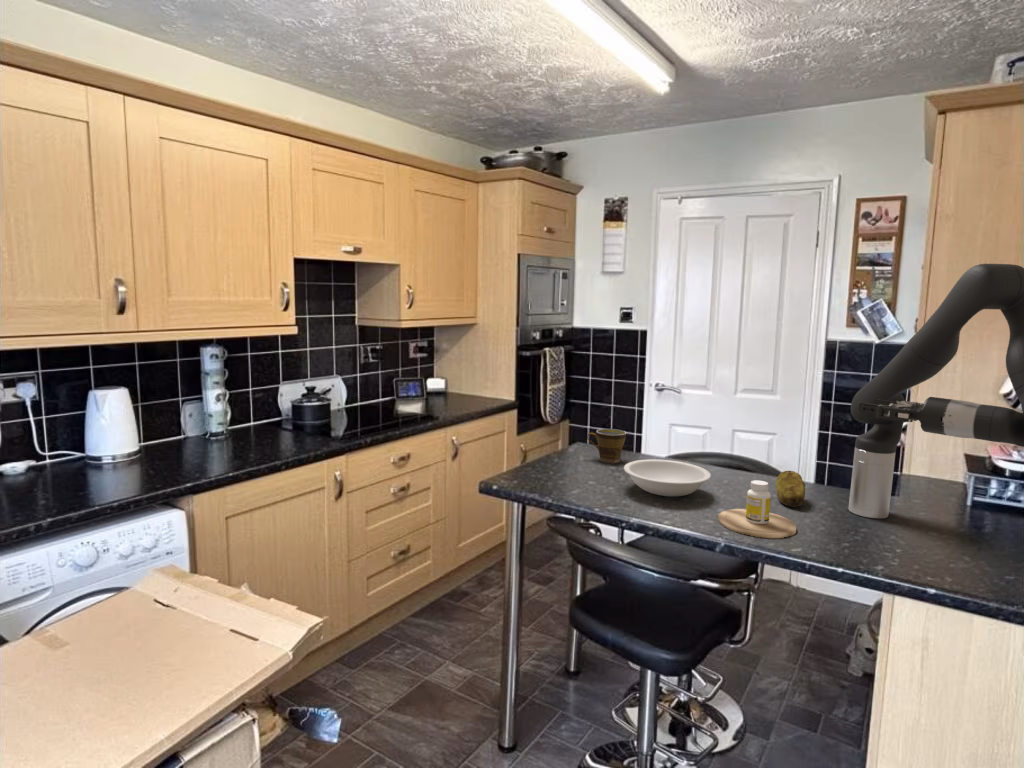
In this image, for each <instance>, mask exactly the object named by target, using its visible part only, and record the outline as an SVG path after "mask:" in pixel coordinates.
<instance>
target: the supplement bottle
mask: <svg viewBox="0 0 1024 768" xmlns="http://www.w3.org/2000/svg"><path fill="white" fill-rule="evenodd" d="M750 488H751V489H749V490H747V493H746V505H745V507H746V508H745V509H746V520H747V521H749V522H751V523H755V524H767V523H768V522H769V514H770V513H771V496H772V494H771V493H770V492H769V491H768V490H769V483H768V482H767V481H764V480H758V479H757V480H755V479H754V480H751V481H750Z"/></svg>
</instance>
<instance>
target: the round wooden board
mask: <svg viewBox="0 0 1024 768" xmlns="http://www.w3.org/2000/svg"><path fill="white" fill-rule="evenodd" d="M717 520H718V523H719V525H721V526H722V527H724V528H725V529H727V530H730V531H732V532H734V533H737V532H738V533H737V534H740V533H741V535H744V534H746V535H745V536H748V535H750V537H753V536H755V537H754V538H760V537H761V539H762V538H763V539H785V538H784V537H786V538H788V537H789V536H790V537H792V536H795V534H796V533H797V525H796V524H795V522H793V521H792V520H790V519H789V518H787V517H785V516H782V515H779V514H776V513H773V512H770V514H769V522H768V523H767V524H755V523H751V522H749V521H747V520H746V508H732V509H726V510H723V511H721V512H720V513H719V514H718V515H717ZM790 537H789V538H790Z"/></svg>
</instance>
